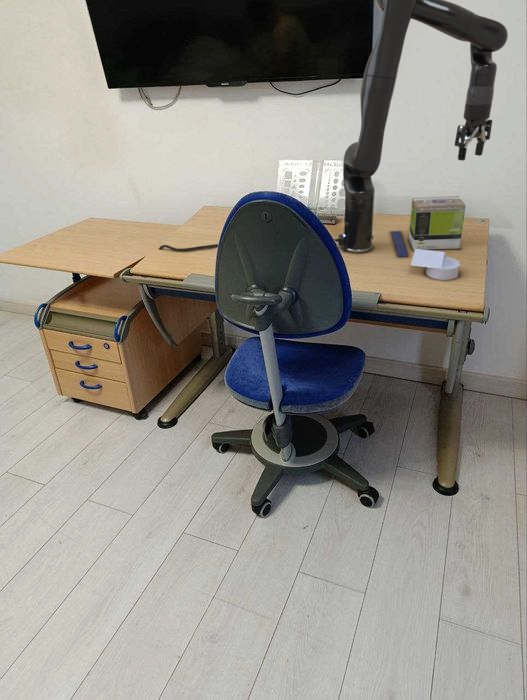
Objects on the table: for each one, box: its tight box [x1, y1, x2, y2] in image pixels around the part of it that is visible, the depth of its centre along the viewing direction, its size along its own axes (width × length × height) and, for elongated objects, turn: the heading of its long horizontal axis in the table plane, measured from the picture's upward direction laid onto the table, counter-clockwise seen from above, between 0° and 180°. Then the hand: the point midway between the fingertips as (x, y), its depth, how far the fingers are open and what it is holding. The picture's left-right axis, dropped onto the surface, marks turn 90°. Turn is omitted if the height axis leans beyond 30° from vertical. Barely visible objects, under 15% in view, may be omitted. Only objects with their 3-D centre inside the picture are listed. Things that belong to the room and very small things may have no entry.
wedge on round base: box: [410, 249, 461, 281], centre depth 149 cm, size 9×7×13 cm
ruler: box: [391, 230, 408, 258], centre depth 170 cm, size 3×22×1 cm, turn 173°
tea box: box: [408, 195, 466, 251], centre depth 164 cm, size 15×10×15 cm
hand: (469, 157), depth 161 cm, fingers open, 8 cm apart
